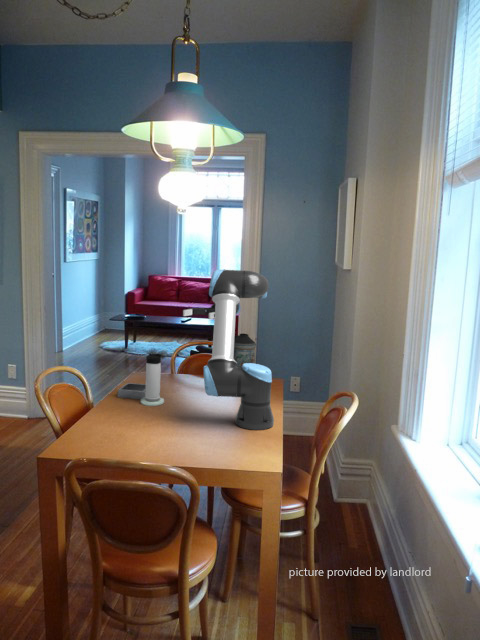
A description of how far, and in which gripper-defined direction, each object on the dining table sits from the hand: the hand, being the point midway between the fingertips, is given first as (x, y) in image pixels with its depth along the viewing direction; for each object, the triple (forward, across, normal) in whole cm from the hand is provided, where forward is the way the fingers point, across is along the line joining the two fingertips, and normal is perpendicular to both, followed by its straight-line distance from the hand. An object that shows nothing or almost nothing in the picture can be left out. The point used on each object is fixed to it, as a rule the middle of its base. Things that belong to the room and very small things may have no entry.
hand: (196, 314), depth 226 cm
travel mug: (+18, +10, -37) cm, 42 cm away
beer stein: (-35, -5, -38) cm, 52 cm away
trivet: (+18, +10, -38) cm, 43 cm away
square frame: (+13, +23, -38) cm, 46 cm away
